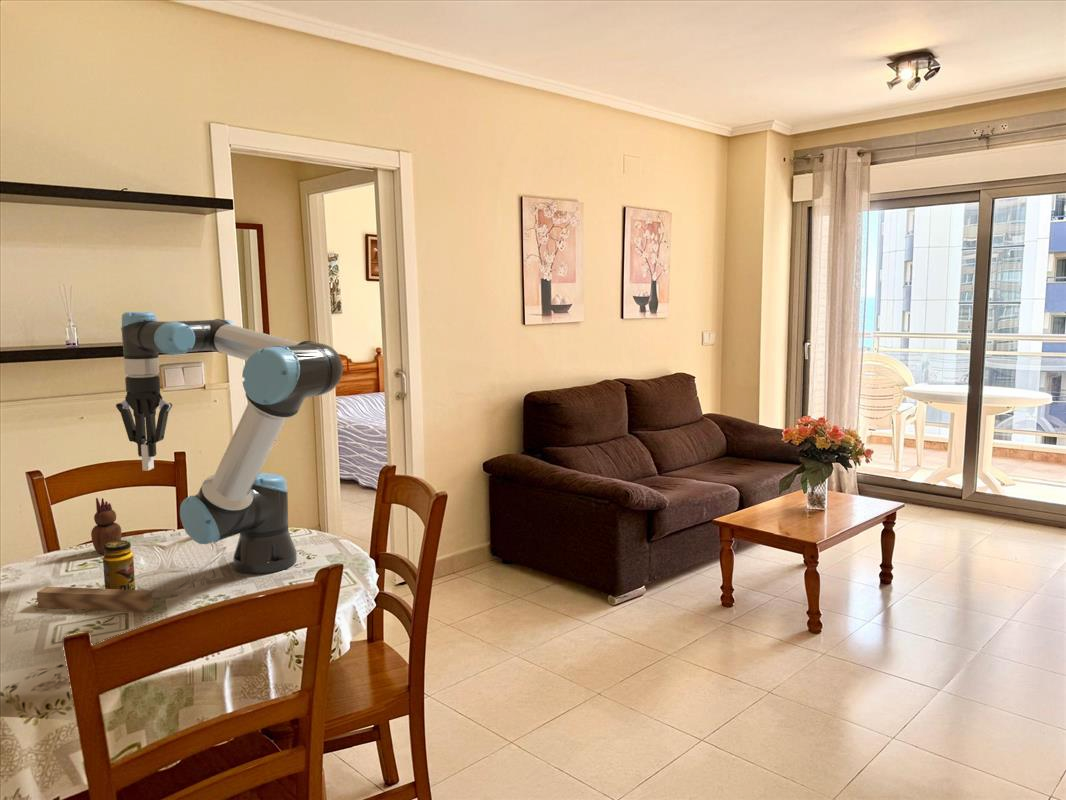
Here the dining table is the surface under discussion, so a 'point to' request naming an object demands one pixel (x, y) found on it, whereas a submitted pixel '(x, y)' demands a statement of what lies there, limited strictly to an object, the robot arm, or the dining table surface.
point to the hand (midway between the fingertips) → (148, 469)
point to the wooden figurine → (104, 526)
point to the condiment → (119, 566)
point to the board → (95, 599)
